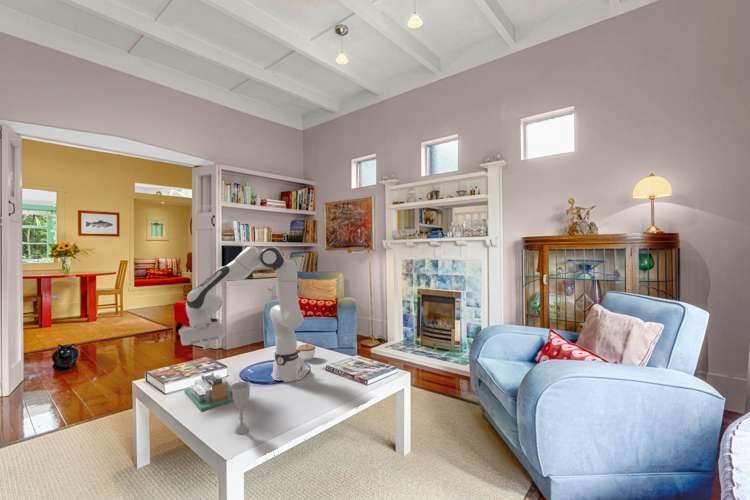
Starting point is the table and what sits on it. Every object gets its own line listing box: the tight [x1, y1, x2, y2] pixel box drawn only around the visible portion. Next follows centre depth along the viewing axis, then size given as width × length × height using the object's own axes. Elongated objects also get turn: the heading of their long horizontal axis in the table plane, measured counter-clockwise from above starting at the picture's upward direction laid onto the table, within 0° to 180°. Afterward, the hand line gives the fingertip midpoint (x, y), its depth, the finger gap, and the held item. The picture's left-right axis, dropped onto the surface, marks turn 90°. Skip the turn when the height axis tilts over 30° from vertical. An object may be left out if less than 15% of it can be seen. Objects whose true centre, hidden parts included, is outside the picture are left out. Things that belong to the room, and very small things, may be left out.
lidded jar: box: [297, 343, 316, 362], centre depth 221 cm, size 11×11×9 cm
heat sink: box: [190, 371, 234, 402], centre depth 169 cm, size 16×15×7 cm
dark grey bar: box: [204, 374, 222, 385], centre depth 169 cm, size 16×4×2 cm, turn 42°
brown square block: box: [210, 381, 228, 403], centre depth 162 cm, size 2×7×7 cm, turn 132°
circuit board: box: [183, 387, 234, 412], centre depth 170 cm, size 26×18×1 cm
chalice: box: [231, 381, 252, 435], centre depth 138 cm, size 7×7×18 cm
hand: (207, 348), depth 174 cm, fingers closed
